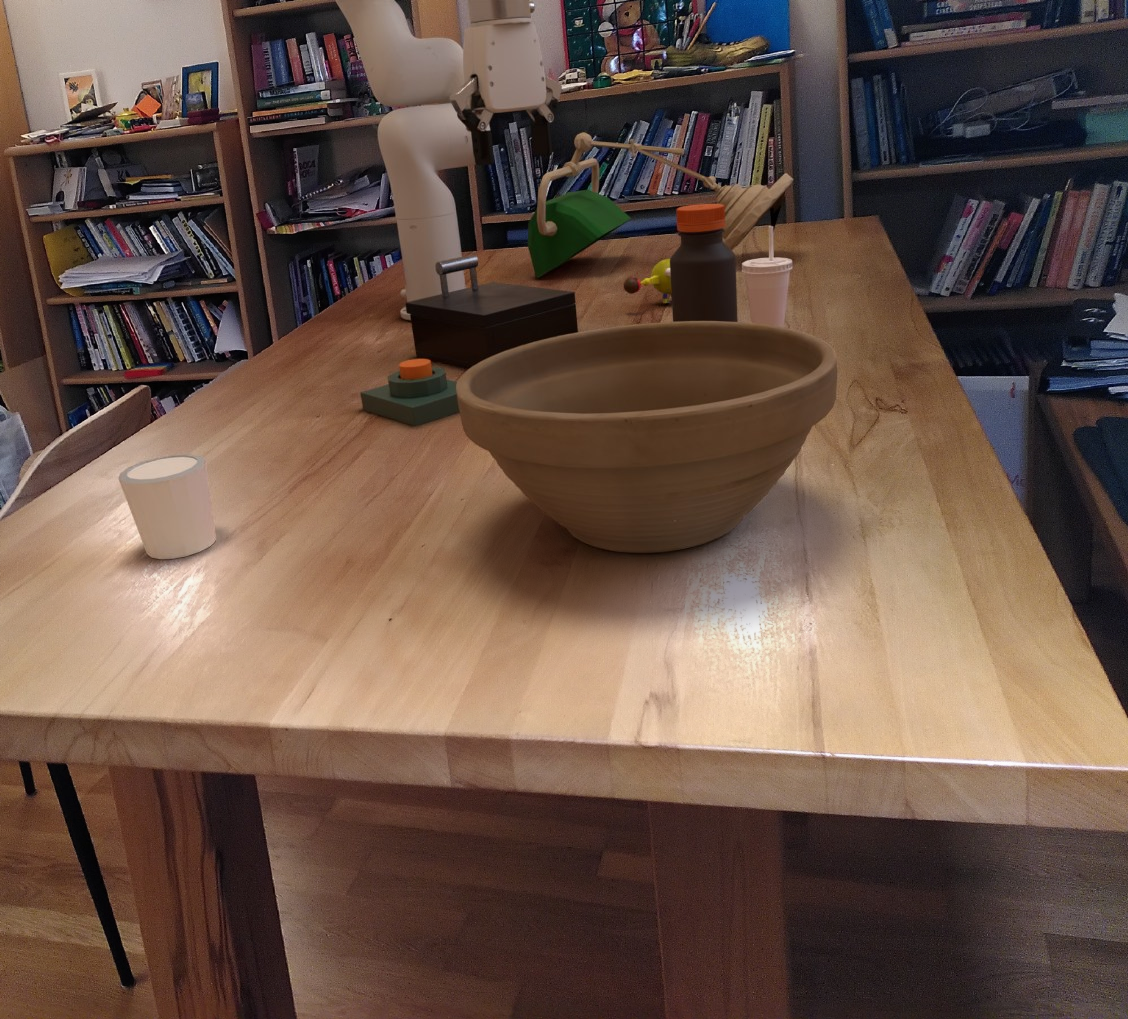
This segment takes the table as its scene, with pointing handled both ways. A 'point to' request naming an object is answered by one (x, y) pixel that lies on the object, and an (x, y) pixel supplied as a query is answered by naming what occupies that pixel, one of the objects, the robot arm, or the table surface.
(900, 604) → the table surface
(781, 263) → the smoothie
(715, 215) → the bottle
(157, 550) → the white cylinder
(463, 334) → the dark open lidded box
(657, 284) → the toy figure
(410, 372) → the button
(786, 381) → the brown mixing bowl
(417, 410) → the button block
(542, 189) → the desk lamp
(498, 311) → the grill lid
